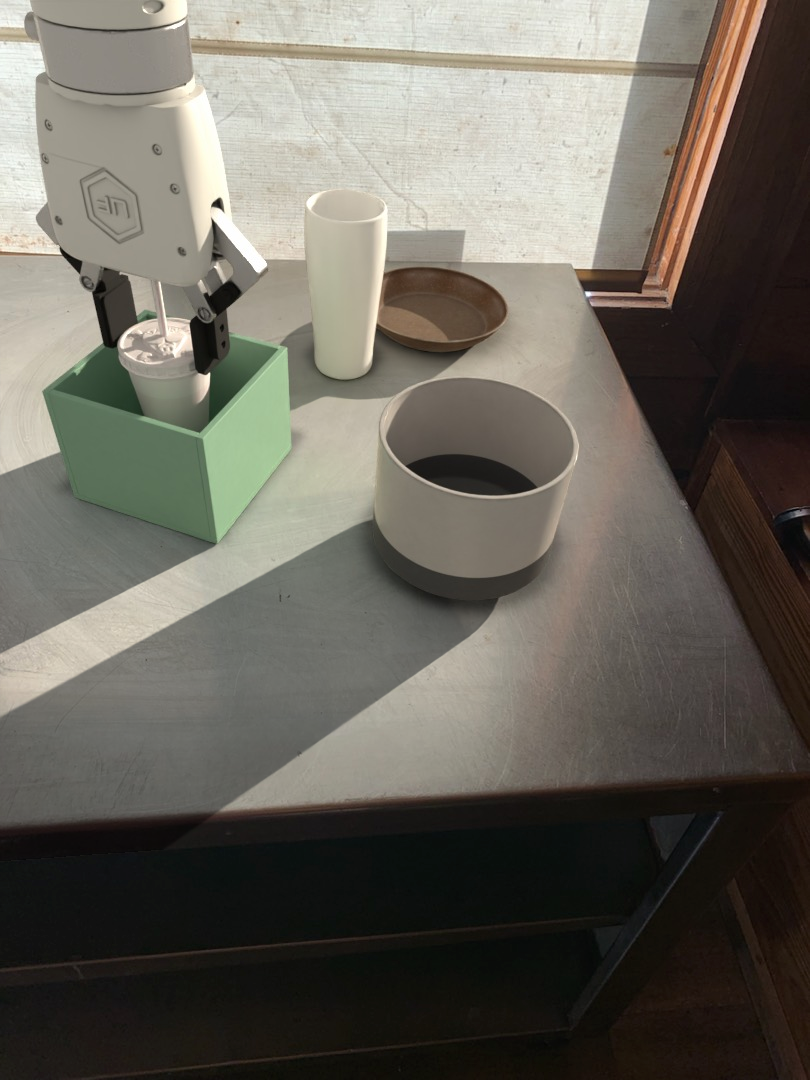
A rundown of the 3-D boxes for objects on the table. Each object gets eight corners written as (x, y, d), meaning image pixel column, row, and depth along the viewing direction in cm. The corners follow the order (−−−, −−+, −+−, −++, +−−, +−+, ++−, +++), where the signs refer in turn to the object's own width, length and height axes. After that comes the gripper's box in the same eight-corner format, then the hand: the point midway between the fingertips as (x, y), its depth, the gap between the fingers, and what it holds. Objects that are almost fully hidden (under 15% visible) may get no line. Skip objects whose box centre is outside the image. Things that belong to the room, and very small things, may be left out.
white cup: (388, 383, 72) (398, 220, 61) (315, 391, 70) (313, 225, 60) (369, 343, 77) (376, 186, 66) (300, 350, 75) (296, 189, 64)
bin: (74, 497, 59) (41, 390, 52) (163, 411, 67) (145, 309, 60) (217, 544, 56) (202, 439, 50) (291, 448, 64) (287, 347, 58)
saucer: (530, 322, 82) (535, 298, 80) (453, 383, 73) (456, 358, 71) (414, 275, 87) (416, 252, 85) (329, 327, 78) (329, 302, 76)
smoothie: (218, 421, 63) (199, 254, 53) (232, 472, 59) (214, 301, 49) (136, 432, 62) (100, 262, 52) (144, 485, 57) (106, 311, 47)
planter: (341, 572, 55) (343, 456, 48) (414, 469, 64) (426, 356, 56) (514, 639, 52) (545, 526, 45) (566, 521, 61) (600, 409, 53)
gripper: (-71, 41, 40) (23, 346, 53) (230, 103, 37) (254, 414, 50) (27, 12, 46) (92, 297, 58) (299, 65, 42) (305, 355, 55)
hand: (166, 349), depth 54 cm, fingers closed on smoothie, 6 cm apart
